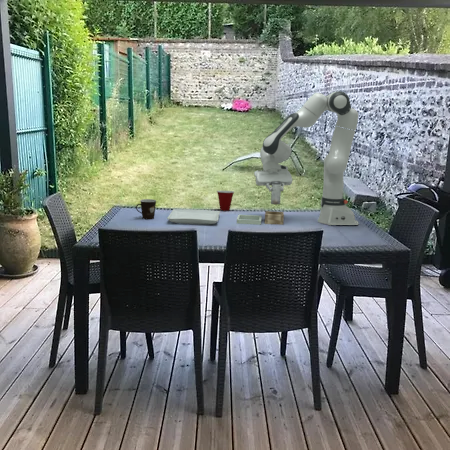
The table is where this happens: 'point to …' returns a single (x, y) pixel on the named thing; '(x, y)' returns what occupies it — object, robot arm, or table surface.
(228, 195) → the plastic cup
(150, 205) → the coffee mug
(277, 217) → the holder
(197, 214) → the square plate
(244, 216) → the tray
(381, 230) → the table surface
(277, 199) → the canister
